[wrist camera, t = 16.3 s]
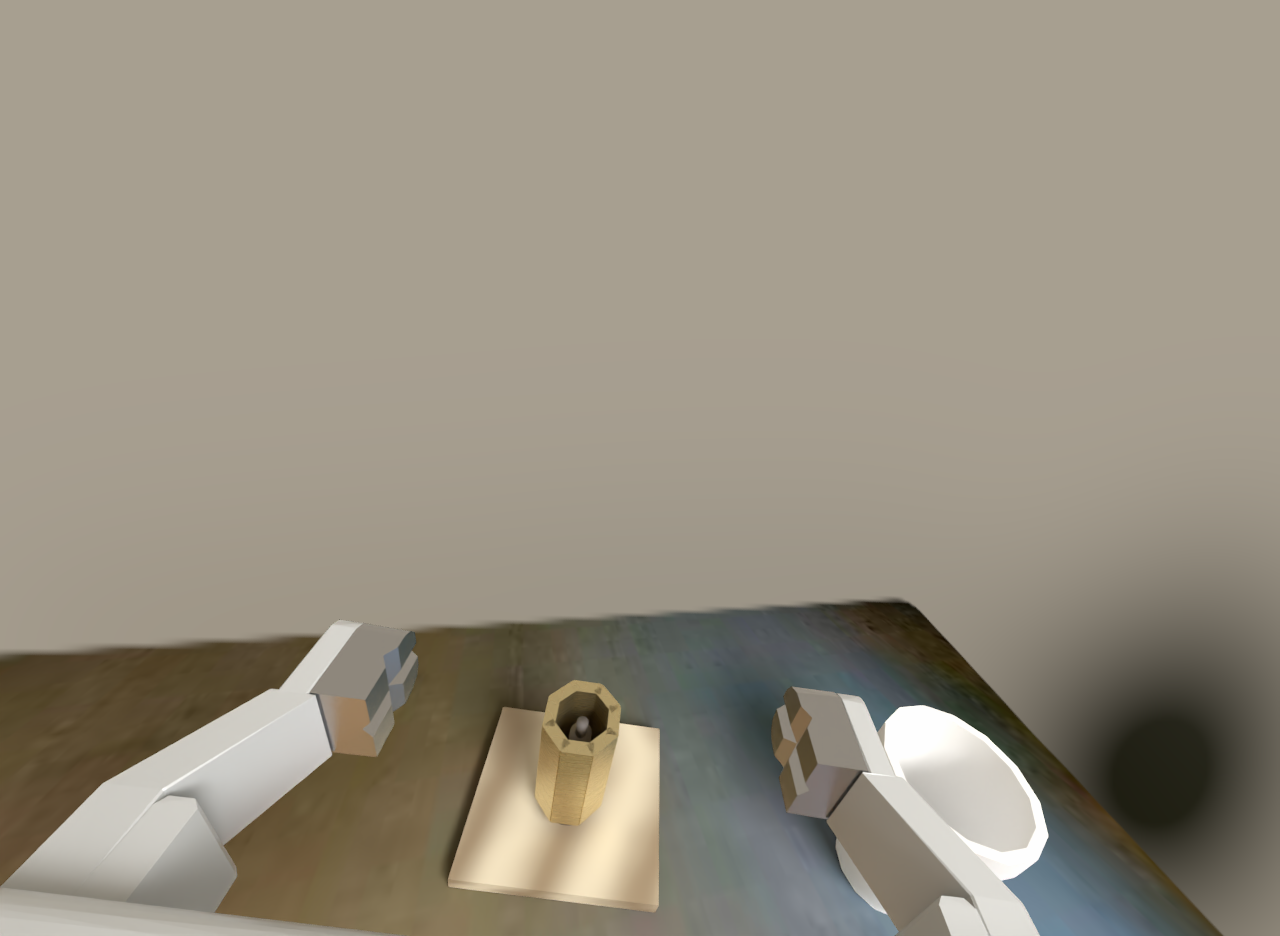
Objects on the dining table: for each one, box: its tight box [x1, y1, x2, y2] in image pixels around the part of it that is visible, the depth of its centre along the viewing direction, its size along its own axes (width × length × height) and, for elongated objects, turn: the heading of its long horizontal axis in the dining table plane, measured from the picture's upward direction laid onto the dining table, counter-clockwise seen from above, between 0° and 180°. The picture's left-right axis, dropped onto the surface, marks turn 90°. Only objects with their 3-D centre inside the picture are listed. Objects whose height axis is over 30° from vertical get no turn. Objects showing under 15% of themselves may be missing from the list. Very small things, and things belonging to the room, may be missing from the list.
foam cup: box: [836, 705, 1048, 915], centre depth 33 cm, size 10×9×13 cm
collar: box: [535, 680, 621, 826], centre depth 33 cm, size 5×5×9 cm
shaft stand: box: [448, 707, 659, 912], centre depth 34 cm, size 14×12×10 cm
